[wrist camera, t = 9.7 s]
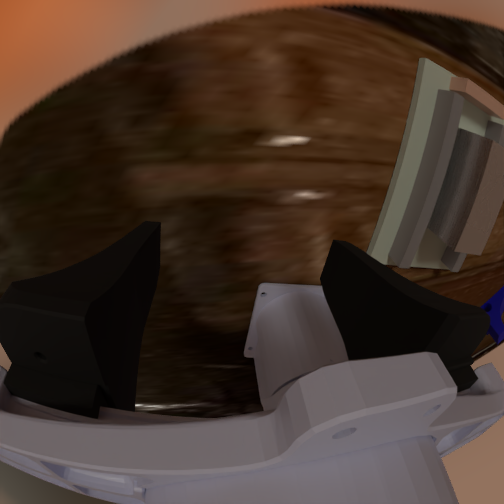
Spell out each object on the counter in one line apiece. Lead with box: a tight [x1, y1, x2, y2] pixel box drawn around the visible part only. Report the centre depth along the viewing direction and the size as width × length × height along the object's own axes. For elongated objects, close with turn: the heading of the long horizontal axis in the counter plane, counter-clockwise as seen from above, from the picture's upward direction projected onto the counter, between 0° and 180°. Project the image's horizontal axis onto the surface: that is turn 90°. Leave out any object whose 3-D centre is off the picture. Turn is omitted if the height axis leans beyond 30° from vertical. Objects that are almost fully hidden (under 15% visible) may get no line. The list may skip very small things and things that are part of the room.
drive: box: [427, 128, 504, 255], centre depth 18 cm, size 9×4×5 cm, turn 171°
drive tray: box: [366, 58, 504, 272], centre depth 20 cm, size 18×12×3 cm, turn 171°
